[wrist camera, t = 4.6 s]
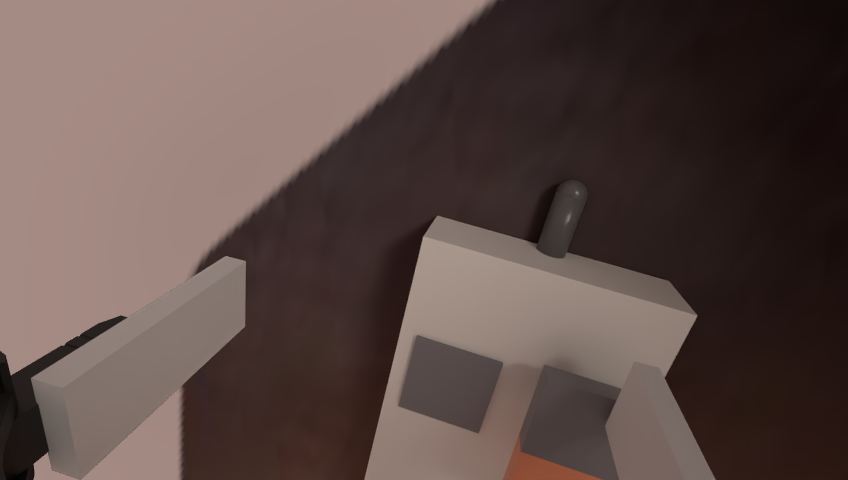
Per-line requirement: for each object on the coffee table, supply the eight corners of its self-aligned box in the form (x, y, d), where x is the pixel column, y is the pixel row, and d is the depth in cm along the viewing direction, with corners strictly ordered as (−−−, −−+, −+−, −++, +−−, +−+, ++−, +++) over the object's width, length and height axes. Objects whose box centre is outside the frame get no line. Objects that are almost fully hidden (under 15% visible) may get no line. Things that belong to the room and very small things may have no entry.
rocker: (544, 364, 15) (547, 378, 14) (656, 399, 15) (667, 416, 14) (496, 497, 17) (496, 518, 16) (598, 533, 16) (604, 557, 15)
